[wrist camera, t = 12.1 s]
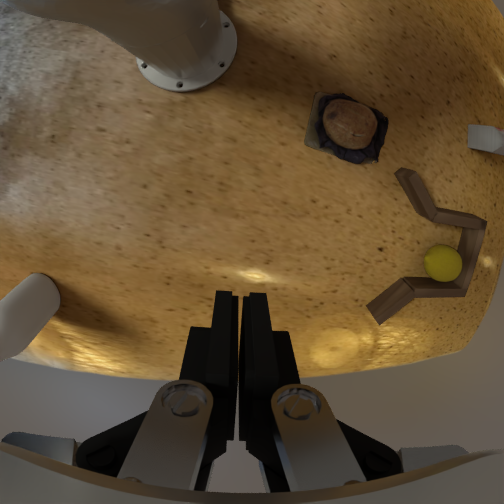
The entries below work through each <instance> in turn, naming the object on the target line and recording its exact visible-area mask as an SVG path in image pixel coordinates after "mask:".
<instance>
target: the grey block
mask: <svg viewBox="0 0 504 504" xmlns="http://www.w3.org/2000/svg"><path fill="white" fill-rule="evenodd" d="M468 148H473V149H477V150H482V151H486V152H490V153H494V154H499V155H504V130H502V129H499V128H496V127H493V126H483V125H470V124H468Z"/></svg>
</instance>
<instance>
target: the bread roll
mask: <svg viewBox="0 0 504 504" xmlns="http://www.w3.org/2000/svg"><path fill="white" fill-rule="evenodd" d="M384 118H385V119H384ZM385 120H386V121H385ZM387 128H388V118H387V117H385V116H383V113H381V112H379V111H378V110H376V109H373V108H371V107H369V106H367V105H365V104H361V103H359V102H358V101H356V100H354V99H352V98H351V97H350V96H346V95H345V94H343V93H342V94H341V93H340V94H333V95H332V94H326V93H323V92H317V93H315V95H314V101H313V105H312V110H311V114H310V118H309V123H308V127H307V132H306V136H305V140H304V143H305V145H306V146H308V147H311V148H314V149H317V150H320V151H323V152H326V153H329V154H332V155H335V156H337V157H338V158H340V159H344V160H347V161H348V162H352V163H355V164H360V163H362V162H363V163H371V164H372V162H373V160H375V163H376V162H378V156H379V152H380V149H381V147H382V145H383V144H384V139H385V135H386V132H387ZM371 158H372V160H371Z"/></svg>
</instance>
